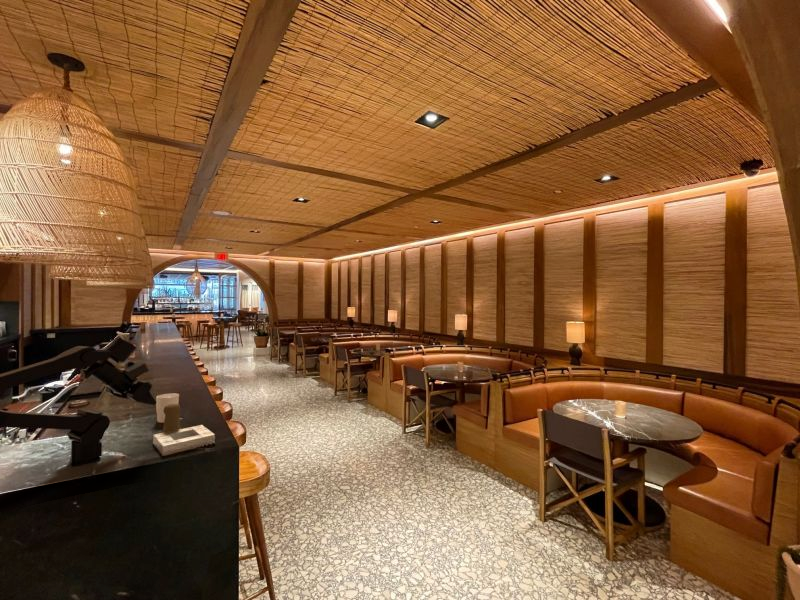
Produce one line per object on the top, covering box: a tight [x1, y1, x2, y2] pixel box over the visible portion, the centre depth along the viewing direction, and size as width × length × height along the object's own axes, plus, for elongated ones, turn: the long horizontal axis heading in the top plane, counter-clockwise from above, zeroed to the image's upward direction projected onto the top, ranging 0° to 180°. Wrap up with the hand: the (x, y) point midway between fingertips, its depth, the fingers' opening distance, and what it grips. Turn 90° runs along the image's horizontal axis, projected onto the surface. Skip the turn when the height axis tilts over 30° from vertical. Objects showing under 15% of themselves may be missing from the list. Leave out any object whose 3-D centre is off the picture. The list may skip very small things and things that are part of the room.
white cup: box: [155, 392, 180, 424], centre depth 147 cm, size 8×8×10 cm
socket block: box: [152, 424, 216, 457], centre depth 122 cm, size 15×14×3 cm
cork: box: [161, 403, 182, 433], centre depth 130 cm, size 6×6×11 cm
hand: (148, 402), depth 123 cm, fingers open, 9 cm apart
